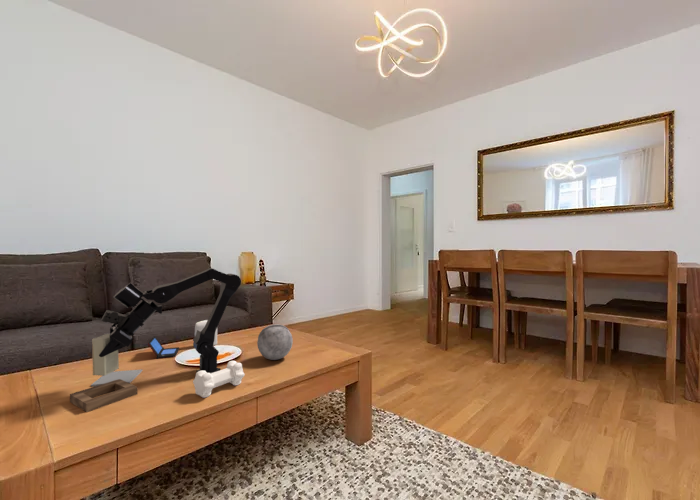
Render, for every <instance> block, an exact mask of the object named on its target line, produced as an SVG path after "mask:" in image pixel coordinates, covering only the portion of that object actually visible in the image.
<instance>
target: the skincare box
mask: <svg viewBox="0 0 700 500" xmlns="http://www.w3.org/2000/svg"><path fill="white" fill-rule="evenodd" d="M109 341H110V333H105V334H103V335H99V336H97V337H94V338H92V339H91V343H92V344H91V346H92V347H91V349H92V376H100V377H102V376H105V375H107V374H109V373H111V372H114V371H117V370H119V369H120V368H119V367H120V366H119V363H120V362H119V350H116V351H114V352H112V353H110V354H108V355H106V356H104V357H100V356H99V354H100V353H101V351H102V350H103V349H104V348H105V346H106V345H107V344H108V342H109Z"/></svg>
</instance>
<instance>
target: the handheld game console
mask: <svg viewBox="0 0 700 500" xmlns="http://www.w3.org/2000/svg"><path fill="white" fill-rule="evenodd" d="M147 344H148V346H149V348H150V349H151V351H152V352H153V353H154V355H155V356H156V359H157V360H159V359H169V358H170V359H171V358H175V357H176V356H177V355H178V353H179V350H180V347H178V346H177V347H167V348H165V347H163V345H162V344H161V343H160V341H159V340H158V339H157V337H156V336H152V338H150V340H149V341H148V342H147Z"/></svg>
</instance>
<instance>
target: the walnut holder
mask: <svg viewBox="0 0 700 500" xmlns="http://www.w3.org/2000/svg"><path fill="white" fill-rule="evenodd" d="M136 395H138V386H136V385H135V384H133V383H128V382H125V381H123V380H121V379H118V380H114V381H111V382H108V383H105V384H101V385H98V386H91V387H89V388H85V389H82V390H78V391H76V392H72V393H70V394H69V403H71V404H72V405H74V406H76V407H77V408H79V409H80V410H82V411H84V412H86V413H88V412H91V411H94V410H97V409H101V408H102V407H105V406H109V405H112V404H113V403H114V404H115V403H116V402H117V403H118V402H120V401H122V400H126V399H127V398H132V397H134V396H136Z"/></svg>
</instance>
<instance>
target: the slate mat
mask: <svg viewBox="0 0 700 500" xmlns="http://www.w3.org/2000/svg"><path fill="white" fill-rule="evenodd" d="M142 372H143V369H141V368H140V369H131V370H129V369H128V370H118V371H117V370H115V371H113V372H111V373H109V374H107V375H105V376H100V377H99V378H97V380H95V381H94V382H93V383H91V384H90V387H95V386H98V385H101V384H105V383H108V382H111V381H114V380H118V379H121V380H123V381H125V382H128V383H130V384H132V382H133V381H134V380H135V379H136V378H137V377H138V376H139V375H140V374H141V373H142Z"/></svg>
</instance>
